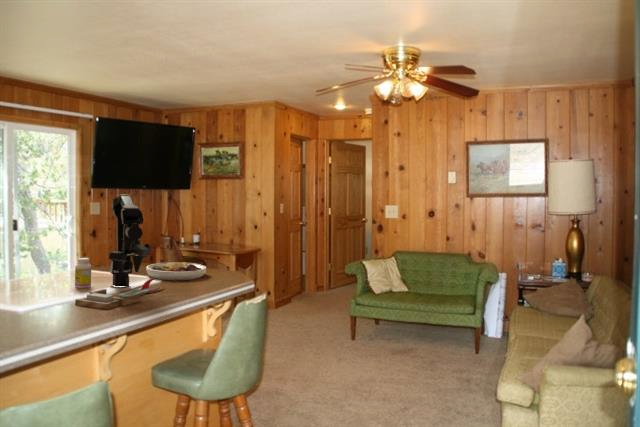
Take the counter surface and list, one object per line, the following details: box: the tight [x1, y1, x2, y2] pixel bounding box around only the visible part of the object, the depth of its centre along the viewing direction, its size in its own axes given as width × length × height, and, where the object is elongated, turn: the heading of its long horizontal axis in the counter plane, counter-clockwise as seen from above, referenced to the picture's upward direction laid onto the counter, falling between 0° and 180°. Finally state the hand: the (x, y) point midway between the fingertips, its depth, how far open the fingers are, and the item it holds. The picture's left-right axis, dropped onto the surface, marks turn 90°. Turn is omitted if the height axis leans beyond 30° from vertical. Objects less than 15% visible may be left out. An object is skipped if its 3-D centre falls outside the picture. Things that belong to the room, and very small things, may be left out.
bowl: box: [146, 261, 207, 281], centre depth 270 cm, size 30×30×8 cm
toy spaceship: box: [117, 278, 165, 298], centre depth 223 cm, size 27×11×5 cm, turn 171°
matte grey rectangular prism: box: [86, 293, 114, 303], centre depth 201 cm, size 4×9×4 cm, turn 72°
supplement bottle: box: [74, 257, 92, 289], centre depth 232 cm, size 7×7×13 cm
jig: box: [74, 288, 141, 310], centre depth 205 cm, size 18×17×3 cm
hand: (129, 273), depth 218 cm, fingers open, 9 cm apart
